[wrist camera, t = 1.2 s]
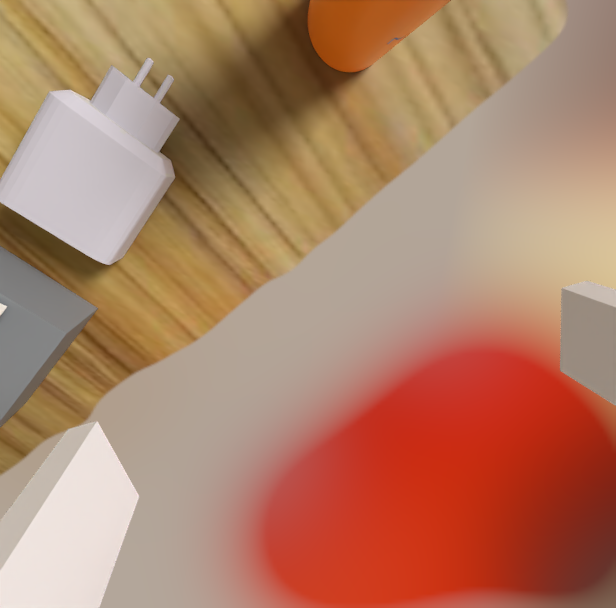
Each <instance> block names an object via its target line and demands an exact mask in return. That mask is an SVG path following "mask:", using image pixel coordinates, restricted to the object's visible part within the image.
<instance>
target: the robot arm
mask: <svg viewBox="0 0 616 608" xmlns="http://www.w3.org/2000/svg"><path fill="white" fill-rule="evenodd" d="M560 352H561V353H560V354H561V355H560V371H562V372H563V373H565V374H566V375H568V376H569V377H571V378H573V379H574V380H576V381H577V382H579V383H581V384H582V385H584V386H585V387H587V388H589V389H590V390H592V391H593V392H595V393H596V394H598V395H600V396H601V397H603V398H605V399H606V400H608V401H609V402H611V403H613V404H614V405H616V290H615V289H612V288H608V287H605V286H602V285H599V284H596V283H592V282H589V281H585V282H581V283H578V284H574V285H571V286H567V287H564V288H562V298H561V351H560ZM138 498H139V495H138V493H137V492H136V490H135V488H134V486H133V484H132V483H131V481H130V479H129V477H128V475H127V474H126V472H125V470H124V468H123V467H122V465H121V463H120V461H119V460H118V457H117V456H116V454H115V452H114V450H113V449H112V447H111V445H110V443H109V441H108V440H107V438H106V436H105V434H104V432H103V431H102V429H101V427H100V425H99V423H98V422H97V421H95V422H92V423H88V424H85V425H81V426H78V427H74V428H71V429H68V430H67V431H66V433H65V434H64V435H63V437H62V438H61V439H60V441H59V442H58V443H57V445H56V446H55V447H54V449H53V450H52V451H51V453H50V454H49V455H48V457H47V458H46V460H45V461H44V462H43V464H42V465H41V466H40V468H39V469H38V470H37V472H36V473H35V474H34V476H33V477H32V479H31V480H30V481H29V483H28V484H27V485H26V487H25V488H24V489H23V491H22V492H21V493H20V495H19V496H18V498H17V499H16V500H15V501H14V503H13V504H12V506H11V507H10V508H9V510H8V511H7V512H6V514H5V515H4V516H3V518H2V519H1V520H0V608H99V606H100V604H101V601H102V598H103V595H104V593H105V590H106V587H107V584H108V581H109V579H110V576H111V573H112V570H113V568H114V565H115V562H116V559H117V556H118V554H119V551H120V548H121V545H122V543H123V540H124V537H125V534H126V531H127V529H128V526H129V523H130V520H131V518H132V515H133V512H134V509H135V507H136V504H137V501H138Z"/></svg>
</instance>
